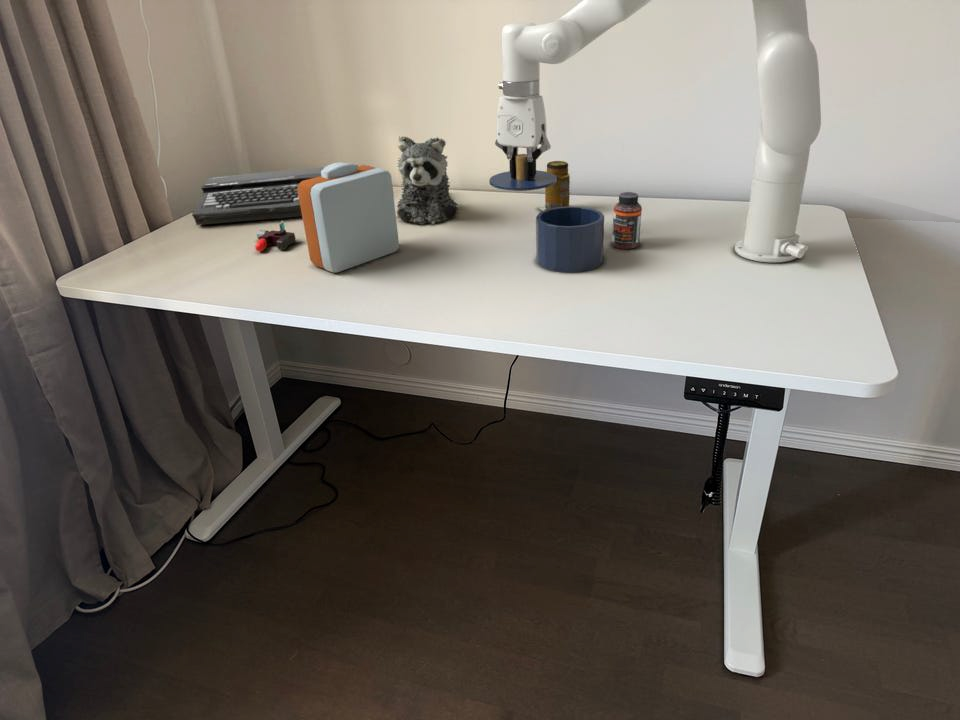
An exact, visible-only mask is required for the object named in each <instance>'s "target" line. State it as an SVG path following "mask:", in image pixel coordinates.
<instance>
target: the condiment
mask: <svg viewBox="0 0 960 720" xmlns="http://www.w3.org/2000/svg"><path fill="white" fill-rule="evenodd" d="M546 172H549V173H552V174H554V175H555V176H556V177H557V181H556V183H555V184H553V185H551V186H549V187H546V188H544V206H542V207H539V210H540V211H541V212H543V211H545V210H547V209H552V208H557V207H568V206H570V198H571V197H570V195H571V193H570V183H571V181H570V177H571V176H570V173H569V163H568V162H566V161H564V160H554V161H549V162H547V164H546Z"/></svg>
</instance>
